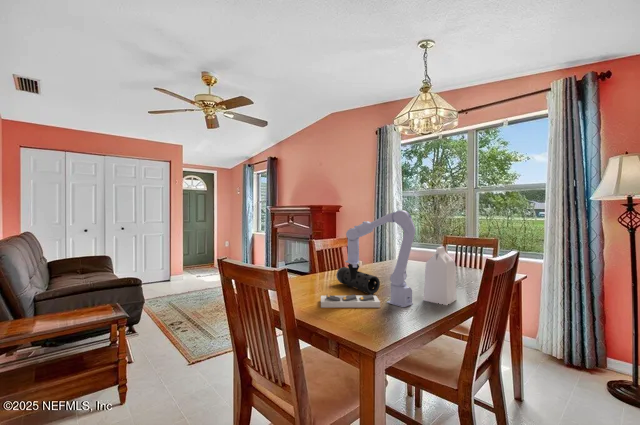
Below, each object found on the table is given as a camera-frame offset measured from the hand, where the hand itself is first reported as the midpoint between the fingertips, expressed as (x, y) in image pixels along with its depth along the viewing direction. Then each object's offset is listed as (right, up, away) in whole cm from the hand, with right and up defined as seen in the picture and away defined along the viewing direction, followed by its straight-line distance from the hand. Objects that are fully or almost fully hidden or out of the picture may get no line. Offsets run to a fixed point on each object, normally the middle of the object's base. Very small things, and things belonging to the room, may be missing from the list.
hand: (353, 279), depth 155 cm
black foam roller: (+3, -9, +16) cm, 19 cm away
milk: (+42, -10, -3) cm, 44 cm away
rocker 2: (+5, -7, -11) cm, 14 cm away
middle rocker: (-3, -7, -11) cm, 13 cm away
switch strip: (-3, -10, -10) cm, 14 cm away
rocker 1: (-11, -7, -11) cm, 17 cm away
